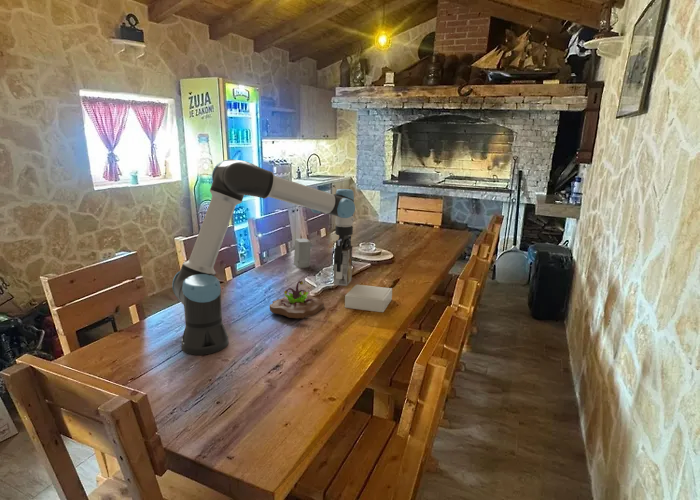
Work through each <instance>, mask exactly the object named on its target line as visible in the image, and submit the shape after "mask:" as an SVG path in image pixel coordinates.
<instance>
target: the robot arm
mask: <svg viewBox="0 0 700 500" xmlns="http://www.w3.org/2000/svg"><path fill="white" fill-rule="evenodd" d="M211 178H212V183H211V186H210V189H209V193H210V195H211V200H210V202H209V205H208V207H207V210H206V213H205V215H204V219H203V221H202V223H201V226H200V228H199V232H198V235H197V237H196V241H195V243H194V245H193V248H192V251H191V254H190V255H189V259H188V260H186V261H184V262H183V263H182V266H181V268H180V270H179V271H178V272H176V274H175V275H174V277H173V279H172V285H171V286H172V290H173V294H174V295H175V297H176V299H178V300H179V301H180V303H181V304H182V305H183V310H184V321H185V322H184V323H185V327H184V331H183V333H182V339H181V342H180V343H181V350H182V351H183V352H184V353H186V354H189V355H194V356H203V355H205V356H206V355H210V354H213V353H217V352H220V351H222V350H223V349H225V348H226V347H227V346H228V344H229V335H228V333H227V331H226V328H225V325H224V322H223V316H222V315H223V313H222V295H221V293H222V287H221V283H220V280H219V278H217V276H216V270H215V269H214V267H215V263H216V261H217V258H218V255H219V252H220V250H221V247H222V244H223V241H224V238H225V235H226V233H227V231H228V228H229V225H230V222H231V219H232V218H233V217H232V216H233V213H234V211H235V209H236V206H237V205H238V204H242V202H243V199H244V197H245V196H249V197H250V196H251V197H255V198H261V199H264V200H265V199H267V198H271V199H275V200H279V201H282V202H285V203H289V204H293V205H296V206H300V207H303V208H305V209H306V208H307V209H310V211H311V212H312V213H313V214H320V215H321V214H327V215H331V216H335V225H336V226H335V229H334V232H335V235H337V236H338V239H337V240H335V248H336V251H335V260H334V259H333V265H334V264H336V279H342V272H343V264H342V260H343V253H342V249H346V246H348V247H349V246H352V235H353V233H354V231H353V229H354V227H353V224H354V221H355V218H354V214H355V211H356V205H355V194H354V190H353V189H351V188H350V189H348V188H337V189H336V191H335V194H332V193H329V192H326V191H323V190H320V189H317V188H314V187H311V186H307V185H304V184H302V183H298V182H295V181H292V180H289V179H285V178H283V177H279V176H276V175H275V173H274V172H273V171H271V170H267V169H265V168H263V167H260V166H258V165H256V164H254V163H251V162H249V161H247V160H241V159H240V160H238V159H235V158H233V159H231V158H230V159H224V160H222V161H220V162H218V163H217V164H216V165H215V166H214V168H213V170H212V173H211Z"/></svg>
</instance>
